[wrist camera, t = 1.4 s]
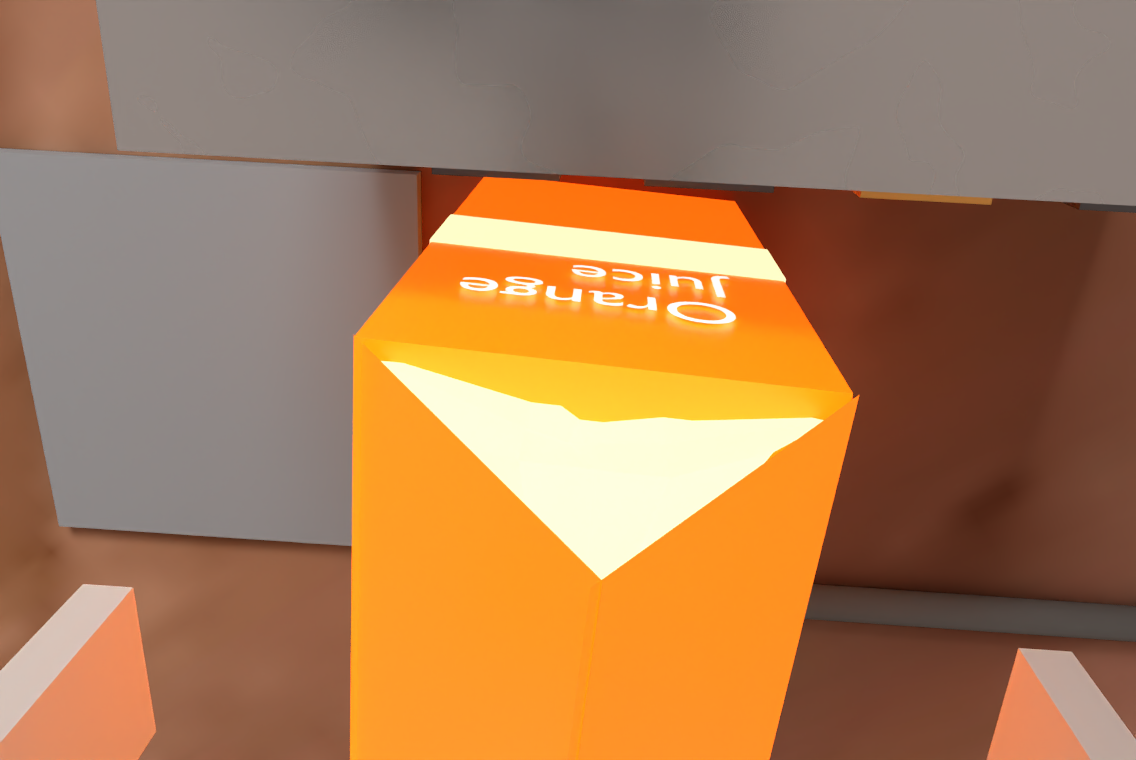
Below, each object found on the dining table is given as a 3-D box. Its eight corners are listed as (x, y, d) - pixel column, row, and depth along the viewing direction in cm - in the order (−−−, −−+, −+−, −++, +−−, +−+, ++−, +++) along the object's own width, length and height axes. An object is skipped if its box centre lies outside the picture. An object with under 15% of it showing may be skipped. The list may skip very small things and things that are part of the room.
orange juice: (465, 434, 30) (222, 1105, 12) (481, 170, 27) (176, 525, 8) (696, 460, 30) (821, 1178, 12) (742, 199, 27) (1024, 623, 8)
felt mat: (-4, 148, 27) (-17, 150, 27) (420, 171, 27) (416, 174, 26) (68, 517, 32) (59, 526, 32) (427, 541, 32) (423, 550, 31)
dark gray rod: (722, 570, 32) (726, 591, 30) (1183, 602, 31) (1204, 624, 30) (718, 599, 32) (722, 620, 31) (1173, 630, 32) (1193, 652, 30)
